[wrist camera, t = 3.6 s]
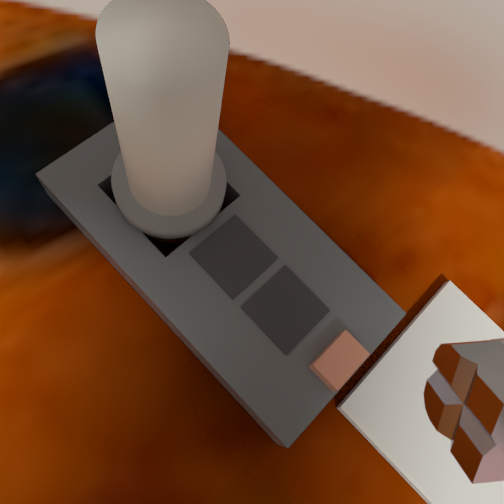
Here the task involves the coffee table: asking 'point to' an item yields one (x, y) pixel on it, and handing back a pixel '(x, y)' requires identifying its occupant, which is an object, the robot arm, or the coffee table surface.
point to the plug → (165, 112)
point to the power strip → (240, 285)
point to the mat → (421, 401)
